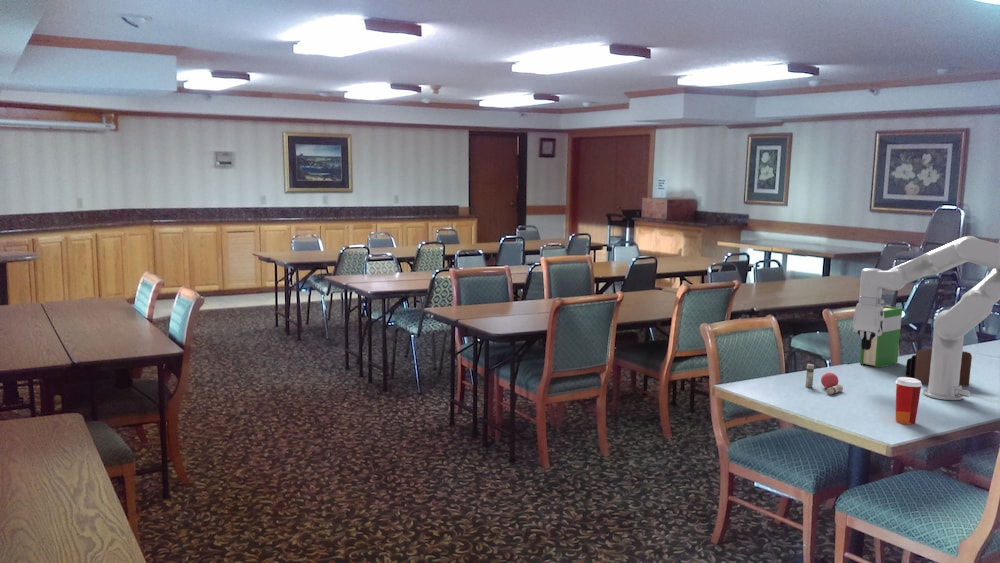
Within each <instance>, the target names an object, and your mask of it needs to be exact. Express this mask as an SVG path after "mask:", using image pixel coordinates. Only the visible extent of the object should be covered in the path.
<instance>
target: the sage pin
mask: <svg viewBox="0 0 1000 563" xmlns="http://www.w3.org/2000/svg"><path fill="white" fill-rule="evenodd" d="M814 367H815V365H814V364H813V363H807V364H806V372H805V373H806V375H805V376H806V377H805V387H806V388H808V387H809V388H811V387H812V388H813V384H814V374H815V373H814V371H815V368H814ZM812 388H811V389H812Z"/></svg>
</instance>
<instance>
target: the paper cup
mask: <svg viewBox="0 0 1000 563" xmlns="http://www.w3.org/2000/svg"><path fill="white" fill-rule="evenodd" d="M895 385H896V386H895V422H896V423H898V424H902V425H907V426H908V425H909V426H910V425H915V423H916V420H917V414H918V407H919V402H920V395H921V389H922V387H923V384H921V381H920V380H918V379H915V378H908V377H905V376H900V377H897V378H896V380H895Z"/></svg>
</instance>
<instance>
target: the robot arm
mask: <svg viewBox="0 0 1000 563" xmlns="http://www.w3.org/2000/svg"><path fill="white" fill-rule="evenodd" d="M967 262H968V263H972V264H974V265H978V266H983V267H985V268H990V269H991V271H990V272H989V273H988V274H987V275H986V276H985V277H984V278H983V279H982V280H981V281H980V282H978V283H977V284H976V285H974V286H973V287H972V288H970V289H969V290H968V291H967V292H965V293H964V294H962V296H961V298H960V299H959V301H958V302H957V303H956V304H954V305H953V306H952V307H950V308H949V309H945V310H942V311H940V312H938V314H936V315H935V318H934V322H933V333H932V344H931V345H932V347H931V349H932V354H931V364H930V375H929V384H927V385H928V386H927V388H924V389H923V390H922V394H924V396H926V397H929V398H933V399H937V400H943V401H944V400H945V401H959V400H963V397H966V398H970V397H971V392H970V390H966V389H965V390H964V389H963V386H961V385H959V379H960V369H961V359H962V351H963V349H964V337H965V335H966V334H968V333H969V332H970V331H972V330H973V329H974V328H975V327H977V325H979V324H980V323H981V322H983V321H984V320H985V319H987V317H988V316H990V314H991V313H992V311H993V306H994V305H995V304H996V303H998V302H999V301H1000V243H996V242H993V241H988V240H984V239H981V238H978V237H976V236H973V235H965V236H963V237H959V238H957V239H956V240H953V241H951V242H948V243H946V244H943V245H942V246H940V247H937V248H935V249H932V250H930V251H928V252H925V253H924V254H921V255H920V256H917V257H915V258H913V259H910V260H908V261H906V262H904V263H901V264H899V265H896V266H894V267H892V268H890V269H888V270H882V269H880V268H875V267H874V268H873V267H872V268H871V267H869V268H868V267H867V268H866V267H865V268H863V269H862V270H861V272H860V282H859V284H860V285H859V294H858V296H859V297H858V303H856V306H855V309H854V313H853V319H852V327H853V328H852V331H853V332H854V333H856V334H858V336H859V337H860V340H861V343H860V344H861V345H860V347H861V346H862V349H863V350H869V349H870V348H871V341H872V339H873V338H874V337H875V336H882V331H883V330H884V310H883V306H884V305H882V304H885V300H884V299H882V293H883V290H887V291H888V290H889V291H894V292H895V291H900V290H901V289H903V288H904V287H905V285H907V284H908V285H909V284H910V283H912V282H914V281H916V280H919V279H921V278H924V277H928V276H934V275H939V274H941V273H944V272H947V271H949V270H951V269H954V268H956V267H959V266H960V265H963V264H966V263H967ZM867 332H868V334H867ZM876 332H877V333H876Z"/></svg>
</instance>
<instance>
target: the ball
mask: <svg viewBox="0 0 1000 563" xmlns="http://www.w3.org/2000/svg"><path fill="white" fill-rule="evenodd" d="M820 378H821V379H820V383H821V385H822V387H824V388H826V389H828V388H830V387H833V386H836V385H839V378H838V376H837V375H836V374H835V373H834V372H833V373H832V372H826V373H824V374H823V375H822V376H821V377H820Z"/></svg>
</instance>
